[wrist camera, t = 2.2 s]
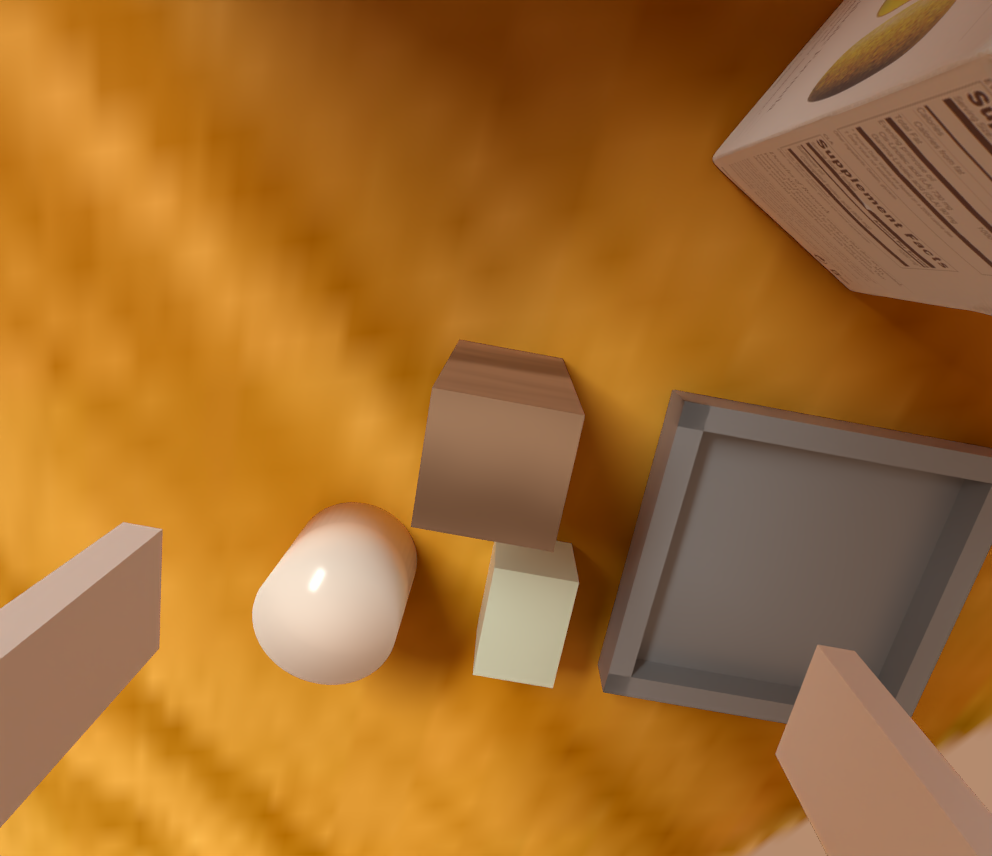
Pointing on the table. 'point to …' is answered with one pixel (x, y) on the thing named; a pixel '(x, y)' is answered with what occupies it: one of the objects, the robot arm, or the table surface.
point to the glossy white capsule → (337, 595)
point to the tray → (792, 556)
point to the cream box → (525, 613)
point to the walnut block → (499, 447)
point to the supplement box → (882, 150)
